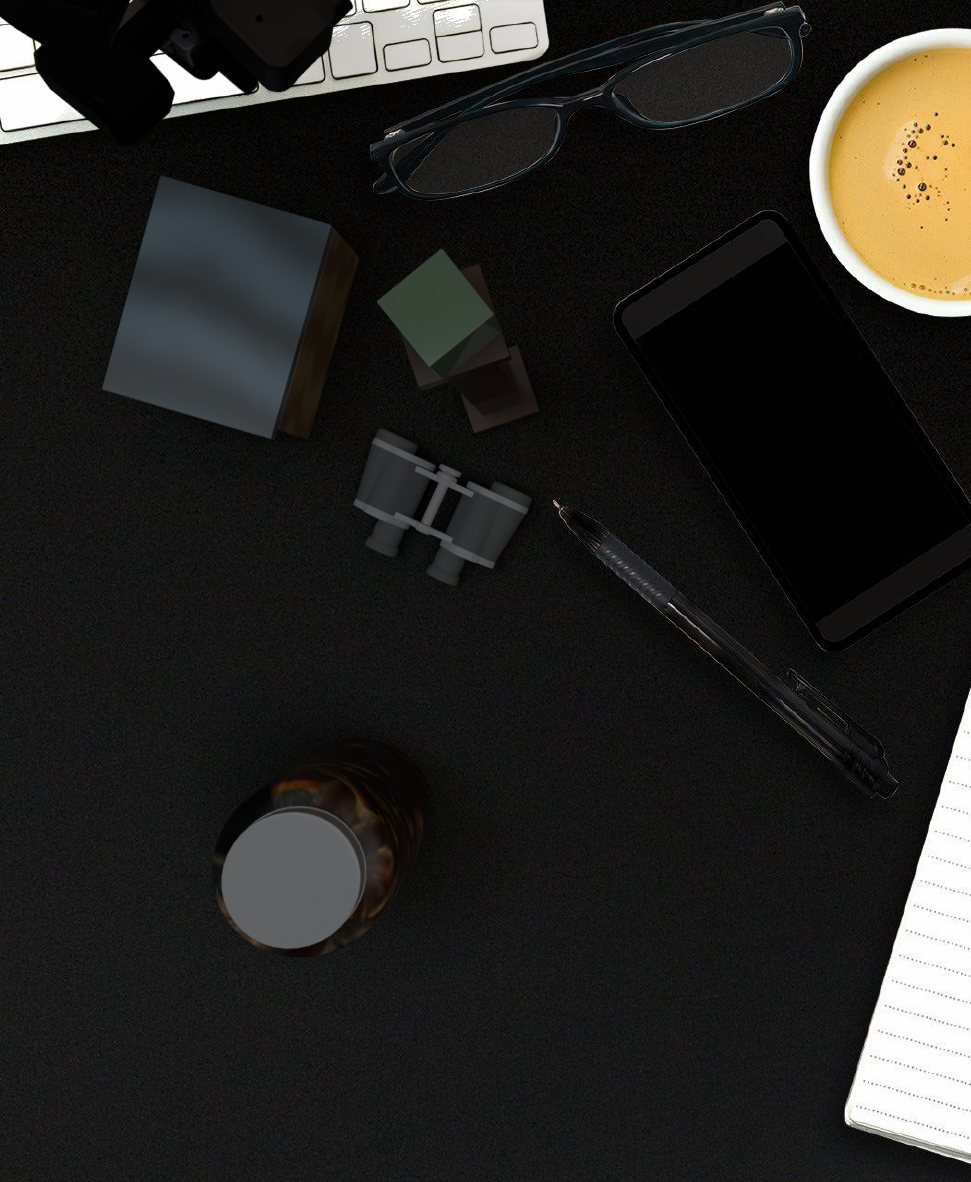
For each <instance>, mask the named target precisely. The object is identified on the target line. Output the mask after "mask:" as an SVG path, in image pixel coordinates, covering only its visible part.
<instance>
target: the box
mask: <svg viewBox="0 0 971 1182" xmlns="http://www.w3.org/2000/svg"><path fill="white" fill-rule="evenodd" d="M359 262H360V256H359V255H358V254H357V253H356V252H355V251H354V250H353V248H351V246H350V245H349V244H348V243H347V242H346V240H345V239H344V238H343V237H342V235H341V234H340V233H339V232H338V231H337V230H336V229H335V228H334V232H333V235H332V239H331V242H330V246H329V250H328V253H327V257H326V260H325V264H324V267H323V271H322V274H321V278H320V281H319V285H318V289H317V292H316V296H315V299H314V303H313V306H312V310H311V313H310V317H309V321H308V324H307V328H306V331H305V335H304V338H303V342H302V345H301V349H300V352H299V356H298V360H297V363H296V367H295V370H294V374H293V377H292V381H291V384H290V388H289V391H288V395H287V399H286V402H285V406H284V409H283V413H282V416H281V420H280V423H279V427H278V431H277V432H280V433H284V434H287V435H290V436H294V437H297V438H300V439H304V440H309V439H310V436H311V433H312V430H313V426H314V422H315V420H316V419H315V418H316V414H317V411H318V408H319V404H320V401H321V397H322V393H323V390H324V386H325V383H326V379H327V376H328V372H329V368H330V365H331V362H332V359H333V354H334V351H335V347H336V345H337V340H338V336H339V333H340V329H341V326H342V322H343V319H344V315H345V312H346V308H347V304H348V301H349V298H350V295H351V291H352V287H353V283H354V279H355V276H356V273H357V270H358V269H357V268H358V265H359Z"/></svg>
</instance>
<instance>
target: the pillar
mask: <svg viewBox="0 0 971 1182" xmlns="http://www.w3.org/2000/svg"><path fill="white" fill-rule="evenodd" d="M459 270H460V272H461V273H462V274H463V275H464V277H465V278H466V279H467V280H468V282H469V283H470V284H471V285H472V287H473V288H474V289H475V290H476V292H477V293H478V294H479V295H480V297H481V298H482V299H483V300H484V302H485V303H486V304H487V305H488V307H489V308H490V309H491V310H492V312H493V313H494V315H495V317H496V319H497V321H498V323H499V324H500V326H501V327H502V325H501V322H500V319H499V315H498V314H497V310H496V307H495V303H494V302H493V298H492V295H491V293H490V290H489V286H488V284H487V280H486V277H485V274H484V272H483V268H482V266H481V264H480V263H476V264H473V265H470V266H468V267H465V268H461V269H459ZM398 331H399V334H400V337H401V338H400V339H401V340H402V343H403V347H404V349H405V353H406V355H407V358H408V361H409V364H410V366H411V370H412V373H413V376H414V379H415V382H416V384H417V387H418V389H419V390H420V391H426V390H428V389H432V388H434V387H437V386H440V385H443V384H446V383H450V384H452V386H453V387H454V388H455V389H456V390H457V391H458V393H459V395H460V398H461V401H462V404H463V407H464V409H465V412H466V415H467V418H468V421H469V424H470V427H471V429H472V433H473V434H474V436H477V435H480V434H483V433H486V432H489V431H493V430H495V429H498V428H501V427H504V426H507V425H509V424H513V423H515V422H518V421H521V420H524V419H527V418H530V417H533V416H536V415H539V414H541V413H542V412H541V408H540V405H539V403H538V400H537V396H536V393H535V391H534V387H533V385H532V382H531V379H530V376H529V373H528V370H527V367H526V363H525V361H524V359H523V355H522V352H521V349H520V347H519V345H518V344H514V345H511V346H509V345H508V343H507V340H506V337H505V334H504V331H503V332H502V333H501V334H500V335H498V336H497V337H496V338H495V339H493V340H492V341H491V342H490V343H489V344H487V345H486V346H485V347H484V348H482V349H481V350H480V351H479V352H477V353H476V354H475V355H474V356H473V357H471V358H470V359H469V360H468V361H466V362H465V363H464V364H463V365H461V366H460V367H459V368H458V369H457V370H455V371H454V372H453V373H452V374H450V375H449V376H448V377H447V378H446V379H444V380H441V379H440V378H439V377H438V376H437V375H436V374H435V373H434V372H433V371H432V370H431V369H430V368H429V367H428V365H427V364H426V363H425V362H424V360H423V359H422V358H421V357H420V355H419V354H418V353H417V352H416V350H415V349H414V348H413V347H412V345H411V344H410V343H409V342H408V340H407V339H406V338H405V337H404V335H403V334H402V333H401V332H400V330H399V329H398Z"/></svg>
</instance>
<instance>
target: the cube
mask: <svg viewBox="0 0 971 1182" xmlns="http://www.w3.org/2000/svg"><path fill="white" fill-rule="evenodd" d="M460 270H461V269H459V268H458V266H457V265H456V264H455V263H454V261H453V260H452V259H451V258H450V256H449V255H448V254H447V252H446V251H445V250H444V249H443V248H440V249H438V250H437V251H436V252H435V253H434V254H433V255H431V256H430V257H429V258H428V259H427V260H425V261H424V262H423V263H422V264H420V265H419V266H418V267H417V268H415V269H414V270H413V271H412V272H410V273H409V274H408V275H407V276H406V277H404V278H403V279H402V280H401V281H400V282H399V283H397V284H396V285H394V287H392V288H391V289H390V290H389V291H387V292H386V293H385V294H384V295H382V297H380V298H379V299H378V300H376V303H377V304H378V305H379V307H380V308H381V309H382V311H383V312H384V313H385V315H386V316H388V318H389V320H390V321H391V322H392V323H393V324H394V326H395V327H396V328H397V329H398V331H399V330H400V332H401V333H402V334H403V335H404V337H405V338H406V339H407V340H408V342H409V343H410V344H411V345H412V347H413V348H414V349H415V350H416V352H417V353H418V354H419V355H420V357H421V358H422V359H423V360H424V362H425V363H426V364H427V365H428V367H429V368H430V369H431V370H432V371H433V372H434V373H435V374H436V375H437V376H438V377H439V378H440V379H441V380H444V379H446V378H447V377H448V376H449V375H450V374H452V373H453V372H454V371H455V370H457V369H458V368H459V367H460V366H461V365H463V364H464V363H465V362H466V361H468V360H469V359H470V358H471V357H473V356H474V355H475V354H476V353H477V352H479V351H480V350H481V349H482V348H484V347H485V346H486V345H487V344H489V343H490V342H491V341H492V340H493V339H495V338H496V337H497V336H498V335H500V334H501V333H502V332H503V333H504V330H503V328H502V325H501V323H500V324H499V323H498V321H497V319H496V317H495V315H494V313H493V312H492V310H491V309H490V308H489V307H488V305H487V304H486V303H485V302H484V300H483V299H482V298H481V297H480V295H479V294H478V293H477V292H476V290H475V289H474V288H473V287H472V285H471V284H470V283H469V282H468V280H467V279H466V278H465V277H464V275H463V274H462V273H461V272H460ZM500 325H501V326H500ZM400 332H399V333H400Z"/></svg>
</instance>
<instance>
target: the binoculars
mask: <svg viewBox="0 0 971 1182" xmlns="http://www.w3.org/2000/svg"><path fill="white" fill-rule="evenodd" d="M418 449H419V445H418V444H416V443H415V442H413V441H410V440H409V439H406V438H404V437H402V436H400V435H398V434H396V433H394V432H392V431H389V430H387V429H386V428H383V427H380V428H377V432H376V434H375V436H374V437H373V440H372V442H371V445H370V449H369V453H368V456H367V459H366V463H365V467H364V470H363V473H362V477H361V480H360V484H359V487H358V491H357V495H356V497H355V499H354V502H353V504H352V505H353V506H355V507H356V508H358V509H359V510H362V511H363V512H364V513H365V514H368V515H370V516H372V517H374V518H375V519H378V520H377V522H375V523H376V524H374V525H375V526H374V528H373V530H372V533H371V534H370V535H369V536H367V538H366V540H365V542H364V545H365V546H366V547H367V548H369V549H371V550H373V551H375V552H378V553H379V554H382V555H384V556H386V557H390V558H394V559H395V558H396V557H397V555H398V553H399V551H400V550H399V544H401V542H402V539H403V537H404V535H405V531H407V530H409V528H410V527H411V526H412V527H414V528H415V530H416V531H418V532H419V533H422V534H424V535H426V536H429V535H431V536H434V537H436V538H438V539H441V540H440V542H439V546H440V547H439V549H438V550H437V552H436V554H435V557H434V559H433V562H432V563H430V564H429V565H428V567H427V569H426V571H425V574H427V575H428V576H430V577H432V578H434V579H436V580H438V581H440V582H442V583H445V584H447V585H449V586H452V587H457V586H458V584H459V582H460V572H462V570H463V568H464V566H465V563H466V561H469V562H472V563H475V564H477V565H481V566H483V567H486V568H489V569H491V570H493V569H494V568H495V565H496V562H497V561H498V559H499V557H500V556H501V554H502V553H503V551H504V550H505V548H506V546H507V545H508V543H509V541H510V540H511V539H512V536H513V535H514V533H515V532H516V530H517V529H518V527H519V526H520V525H521V523H522V521H523V519H524V518H525V516H526V515H527V514H528V511H529V508H530V506H531V504H532V501H533V498H532V497H531V496H529V495H527V494H525V493H523V492H521V491H519V490H517V489H515V488H512V487H510V486H508V485H506V484H504V483H501V482H500V481H497V480H495V481H493V482H492V485H491V487H490V489H487V488H486V487H484V486H481V485H479V484H477V483H474V482H472V481H470V480H469V481H467V484H466V486H462V485H460V484H457V482H458V479H457V478H460V477H461V475H462V473H461V472H460V471H458V470H456V469H454V468H452V467H449V466H447V465H445V464H443V463H440V464H439V466H438V469H439V470H438V471H437V472H436V473H434V472H435V470H436V468H437V465H436V464H434V463H431V462H429V461H427V460H425V459H423V458H421V457H419V456H416V452H417V450H418ZM431 480H433V481H435V482H437V486H436V487H435V490H434V492H433V494H432V497H431V499H430V501H429V503H428V505H427V508H426V510H425V512H424V515H423V517H422V519H421V521H419V520H417V519H415V518H414V516H415V514H416V512H417V510H418V507H419V505H420V503H421V501H422V498H423V496H424V494H425V492H426V489H427V488H428V485H429V482H430V481H431ZM449 488H450V489H451V490H454V491H456V492H459V493H461V497H460V499H459V501H458V504H457V506H456V507H455V508H456V509H455V511H454V512H453V514H452V517H451V519H450V521H449V524H448V525H447V528H446V530H445V532H442V531H440V530H438V529H436V528H434V527H432V524H433V521H434V519H435V517H436V515H437V513H438V510H439V508H440V507H441V504H442V502H443V500H444V497H445V495H446V493H447V491H448V489H449Z"/></svg>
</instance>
